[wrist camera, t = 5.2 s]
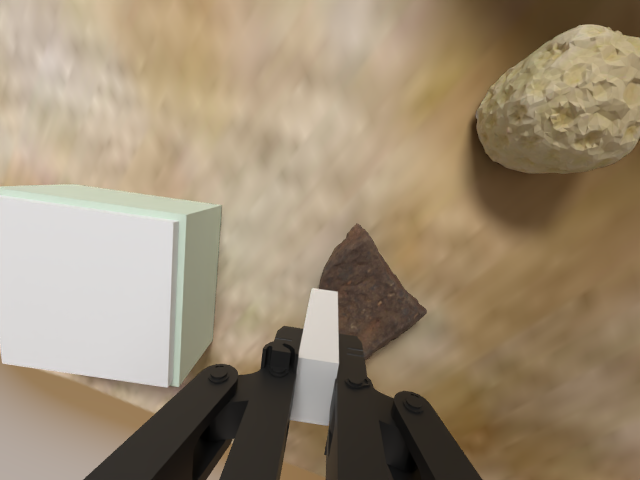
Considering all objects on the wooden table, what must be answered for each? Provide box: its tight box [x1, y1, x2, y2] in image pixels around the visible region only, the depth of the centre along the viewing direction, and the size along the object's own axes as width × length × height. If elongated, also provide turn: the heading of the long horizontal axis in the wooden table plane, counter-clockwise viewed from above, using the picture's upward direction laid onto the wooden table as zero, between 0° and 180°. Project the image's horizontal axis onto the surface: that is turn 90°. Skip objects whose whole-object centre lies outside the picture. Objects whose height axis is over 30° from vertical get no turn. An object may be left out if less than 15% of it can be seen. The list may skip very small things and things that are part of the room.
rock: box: [319, 224, 427, 360], centre depth 28 cm, size 11×10×4 cm
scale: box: [0, 184, 222, 388], centre depth 26 cm, size 15×14×8 cm
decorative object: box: [476, 24, 640, 174], centre depth 22 cm, size 9×10×10 cm
